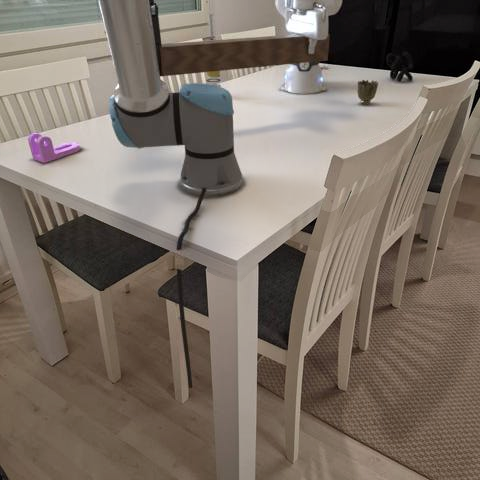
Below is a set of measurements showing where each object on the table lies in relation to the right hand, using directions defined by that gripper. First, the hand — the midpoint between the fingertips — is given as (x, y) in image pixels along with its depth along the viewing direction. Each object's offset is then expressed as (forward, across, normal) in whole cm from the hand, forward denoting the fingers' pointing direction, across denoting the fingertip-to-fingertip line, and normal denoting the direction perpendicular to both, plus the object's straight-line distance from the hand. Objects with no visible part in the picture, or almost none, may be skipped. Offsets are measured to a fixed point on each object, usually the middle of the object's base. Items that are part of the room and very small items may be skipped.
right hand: (304, 51), depth 139 cm
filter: (+23, +46, +15) cm, 53 cm away
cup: (+23, +9, -32) cm, 40 cm away
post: (+2, 0, +24) cm, 24 cm away
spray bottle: (+24, +70, -42) cm, 85 cm away
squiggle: (+23, +35, -70) cm, 81 cm away
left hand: (+1, 0, +48) cm, 48 cm away
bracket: (+22, +3, +78) cm, 81 cm away
